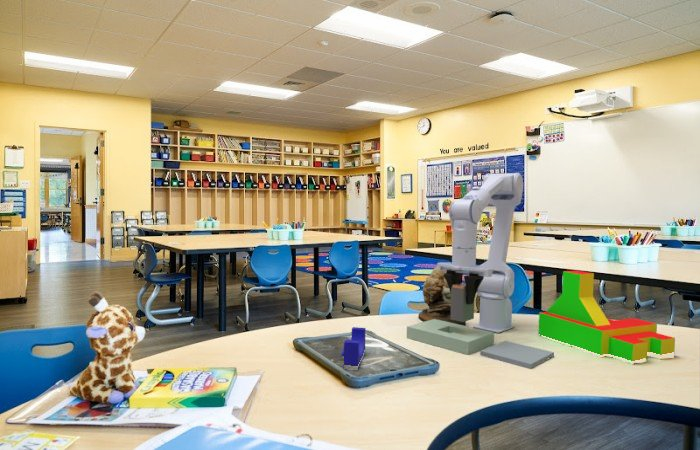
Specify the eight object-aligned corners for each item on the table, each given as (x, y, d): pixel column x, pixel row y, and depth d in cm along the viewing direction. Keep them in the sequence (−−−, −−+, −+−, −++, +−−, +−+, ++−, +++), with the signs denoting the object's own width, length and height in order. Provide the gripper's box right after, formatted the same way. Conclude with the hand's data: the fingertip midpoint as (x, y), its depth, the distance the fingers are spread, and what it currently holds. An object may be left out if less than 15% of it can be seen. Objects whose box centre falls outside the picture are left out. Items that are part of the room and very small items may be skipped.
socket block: (433, 329, 130) (434, 318, 130) (493, 344, 117) (494, 332, 117) (406, 337, 121) (406, 326, 121) (467, 354, 109) (468, 342, 108)
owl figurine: (478, 326, 134) (480, 267, 133) (446, 331, 129) (447, 270, 128) (439, 312, 150) (440, 259, 149) (408, 316, 145) (409, 261, 144)
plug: (461, 316, 120) (462, 282, 119) (473, 318, 117) (474, 284, 117) (450, 319, 116) (451, 284, 116) (462, 322, 114) (463, 286, 113)
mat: (505, 344, 117) (505, 340, 117) (553, 356, 108) (554, 352, 108) (480, 355, 109) (480, 350, 108) (530, 368, 100) (531, 364, 100)
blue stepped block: (346, 352, 110) (346, 326, 109) (365, 353, 109) (365, 327, 109) (336, 370, 98) (337, 341, 98) (357, 371, 97) (358, 343, 97)
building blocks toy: (624, 367, 103) (628, 284, 102) (538, 336, 126) (540, 268, 125) (680, 357, 110) (684, 280, 109) (589, 330, 133) (592, 266, 132)
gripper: (430, 246, 118) (429, 299, 119) (482, 251, 108) (480, 309, 109) (446, 245, 123) (445, 296, 124) (497, 249, 113) (495, 305, 113)
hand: (462, 302), depth 117 cm, fingers closed on plug, 3 cm apart
